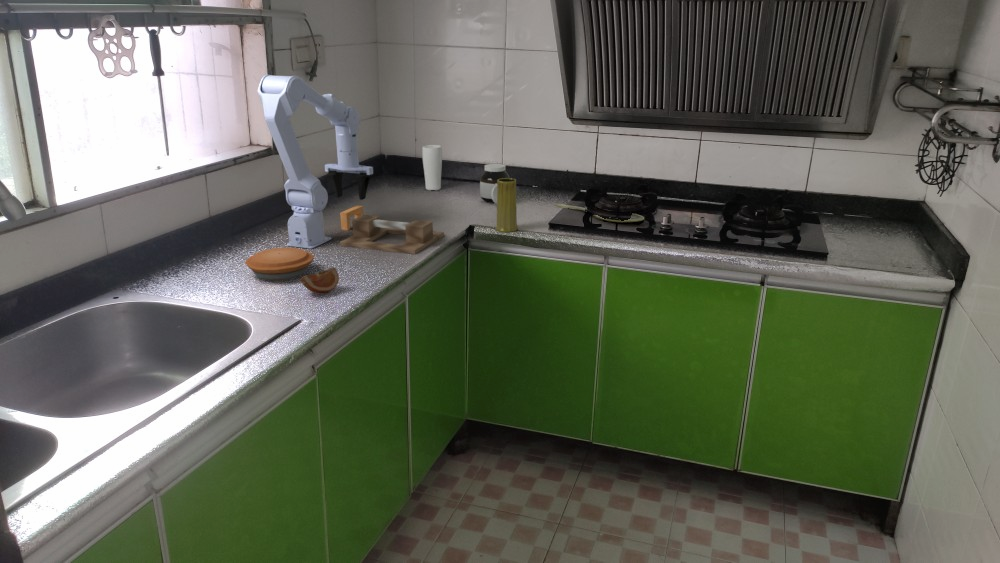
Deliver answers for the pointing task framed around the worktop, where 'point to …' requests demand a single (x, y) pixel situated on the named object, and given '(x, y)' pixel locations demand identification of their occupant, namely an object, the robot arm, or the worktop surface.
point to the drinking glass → (432, 166)
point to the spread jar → (491, 181)
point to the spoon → (633, 218)
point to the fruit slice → (321, 281)
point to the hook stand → (373, 228)
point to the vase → (506, 205)
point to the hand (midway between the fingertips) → (350, 197)
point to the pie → (280, 263)
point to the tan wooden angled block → (348, 213)
